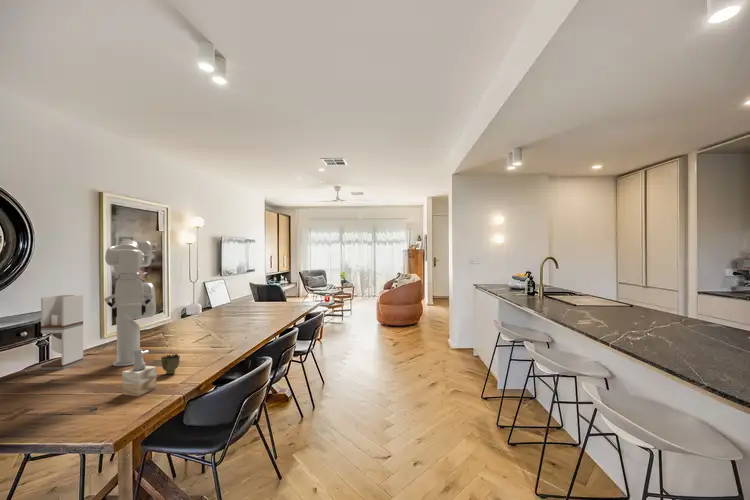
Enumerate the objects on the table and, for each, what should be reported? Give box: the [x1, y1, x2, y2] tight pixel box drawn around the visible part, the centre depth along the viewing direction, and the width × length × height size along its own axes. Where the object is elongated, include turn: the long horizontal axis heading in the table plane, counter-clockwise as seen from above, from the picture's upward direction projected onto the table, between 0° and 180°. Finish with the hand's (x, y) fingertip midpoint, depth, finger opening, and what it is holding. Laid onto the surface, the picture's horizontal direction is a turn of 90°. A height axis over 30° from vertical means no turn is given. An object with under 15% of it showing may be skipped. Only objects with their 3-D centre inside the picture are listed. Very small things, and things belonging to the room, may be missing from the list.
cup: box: [161, 353, 181, 375], centre depth 156 cm, size 8×7×8 cm
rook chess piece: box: [132, 347, 147, 370], centre depth 136 cm, size 4×4×8 cm
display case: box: [40, 294, 84, 371], centre depth 168 cm, size 11×11×35 cm
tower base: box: [121, 377, 157, 397], centre depth 136 cm, size 8×8×4 cm
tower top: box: [121, 365, 157, 385], centre depth 136 cm, size 8×8×4 cm
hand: (129, 315), depth 148 cm, fingers open, 9 cm apart
